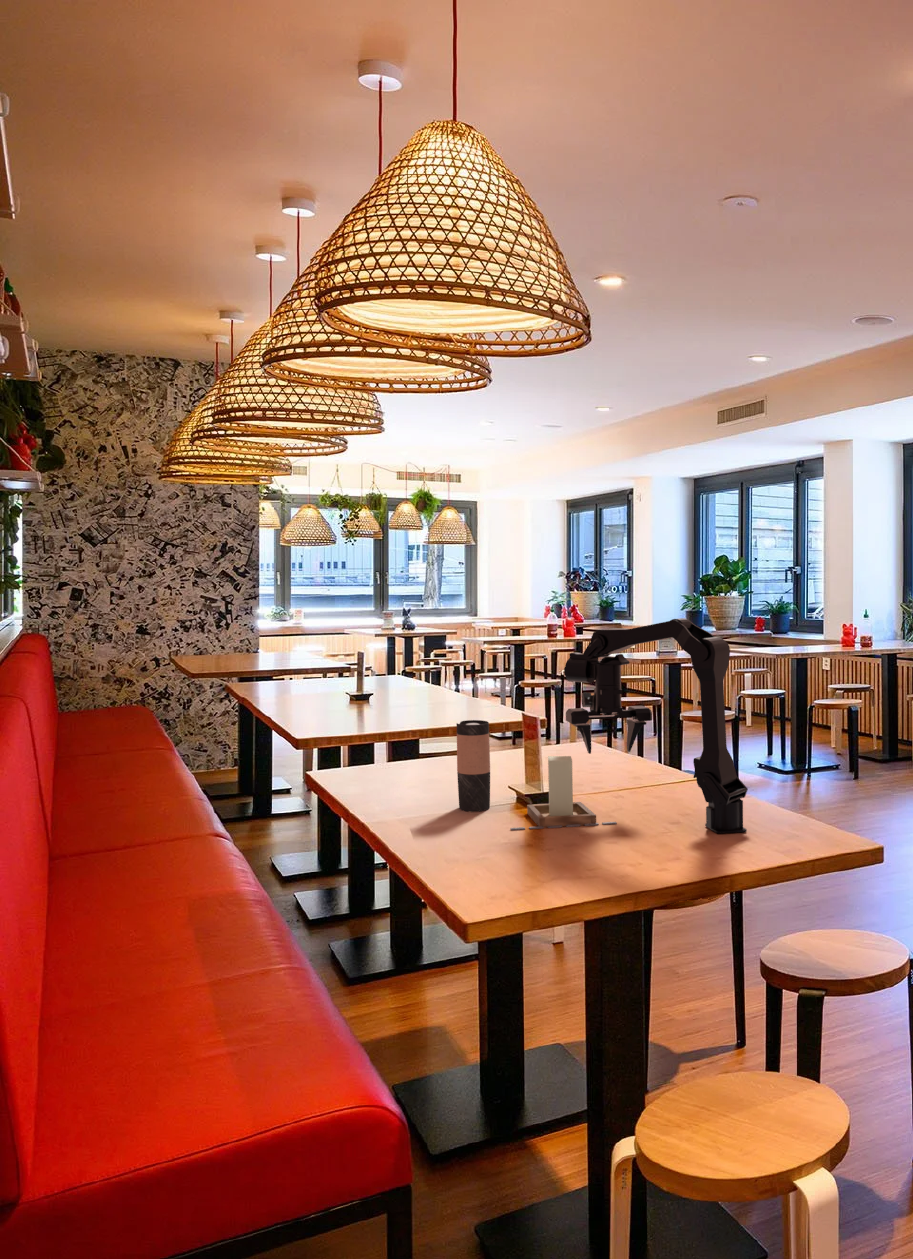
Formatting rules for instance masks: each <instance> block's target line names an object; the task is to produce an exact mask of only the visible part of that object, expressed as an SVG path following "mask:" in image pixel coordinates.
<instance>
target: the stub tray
mask: <svg viewBox="0 0 913 1259" xmlns="http://www.w3.org/2000/svg"><path fill="white" fill-rule="evenodd" d="M526 809H527V810H526V811H527V812H526V814H527V815H528V816H529V817H530V819H531V820H532V821H533V822H534V823H535V824H536V826H543V827H544V828H548V826H555V825H562V827H566V825H571V824H580V826H584V824H588V823H597V814H595V813H594V811H592V810H591V809H589V808H588V807H587V806H586V805H585V804H584V803H583V802H582V801H575V802H574V801H573V815H566V816H549V803H537V804H534V803H533V804H527V805H526ZM544 828H543V829H544Z"/></svg>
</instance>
